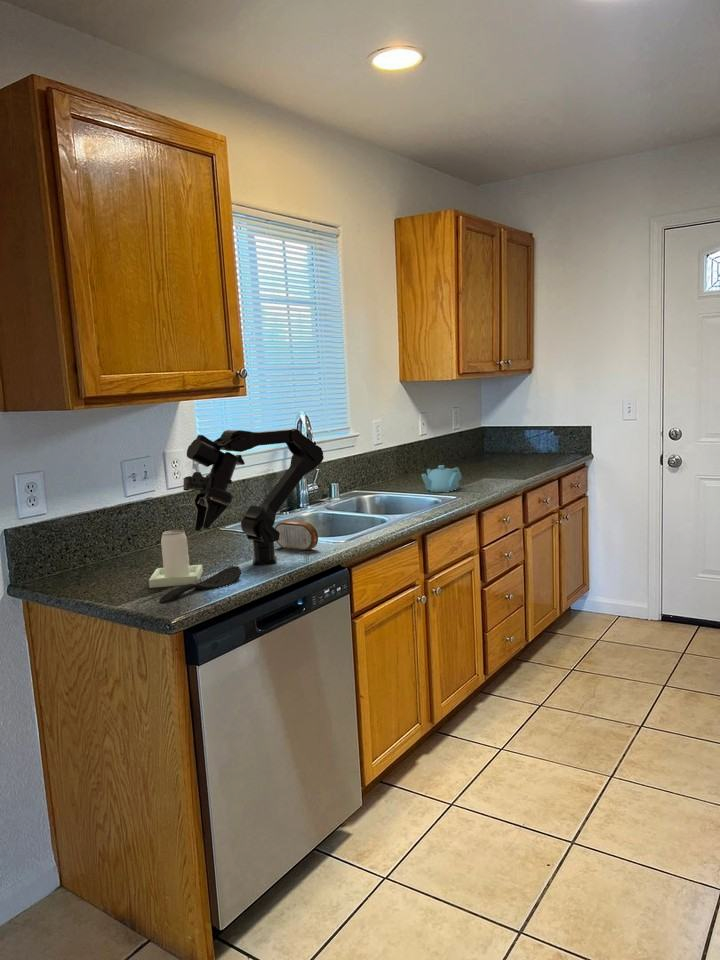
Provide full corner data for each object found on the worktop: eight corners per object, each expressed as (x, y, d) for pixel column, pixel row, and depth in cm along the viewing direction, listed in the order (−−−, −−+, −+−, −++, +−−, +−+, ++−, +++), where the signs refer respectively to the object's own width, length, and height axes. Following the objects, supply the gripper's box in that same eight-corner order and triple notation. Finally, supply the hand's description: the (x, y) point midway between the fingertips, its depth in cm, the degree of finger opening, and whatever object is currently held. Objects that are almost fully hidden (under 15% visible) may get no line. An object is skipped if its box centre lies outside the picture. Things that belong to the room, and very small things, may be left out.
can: (185, 572, 197) (181, 528, 196) (193, 577, 192) (189, 531, 190) (161, 577, 194) (157, 532, 192) (169, 582, 189) (164, 536, 187)
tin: (319, 550, 217) (317, 521, 216) (313, 552, 215) (311, 524, 213) (280, 546, 226) (278, 518, 225) (273, 548, 223) (271, 520, 222)
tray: (157, 575, 198) (156, 568, 198) (202, 571, 199) (202, 564, 199) (149, 587, 186) (148, 580, 186) (197, 583, 188) (197, 576, 187)
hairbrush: (147, 591, 175) (225, 561, 194) (149, 606, 175) (226, 574, 195) (170, 595, 170) (247, 564, 190) (172, 611, 171) (249, 578, 190)
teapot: (458, 493, 304) (457, 467, 302) (421, 494, 307) (420, 468, 306) (462, 487, 318) (461, 462, 317) (427, 488, 322) (426, 463, 320)
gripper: (184, 467, 201) (164, 521, 197) (200, 457, 184) (178, 515, 180) (222, 482, 205) (203, 535, 201) (241, 473, 188) (221, 531, 184)
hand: (200, 529), depth 191 cm, fingers open, 9 cm apart
